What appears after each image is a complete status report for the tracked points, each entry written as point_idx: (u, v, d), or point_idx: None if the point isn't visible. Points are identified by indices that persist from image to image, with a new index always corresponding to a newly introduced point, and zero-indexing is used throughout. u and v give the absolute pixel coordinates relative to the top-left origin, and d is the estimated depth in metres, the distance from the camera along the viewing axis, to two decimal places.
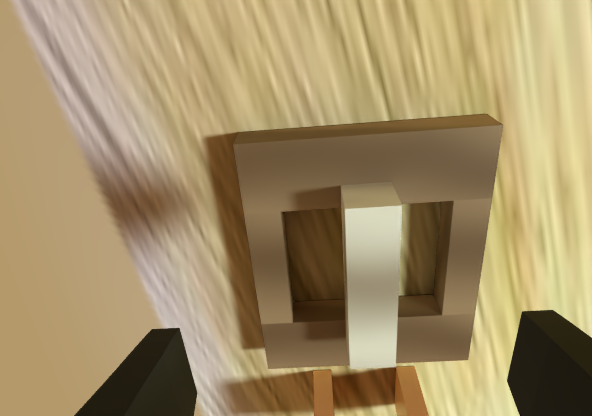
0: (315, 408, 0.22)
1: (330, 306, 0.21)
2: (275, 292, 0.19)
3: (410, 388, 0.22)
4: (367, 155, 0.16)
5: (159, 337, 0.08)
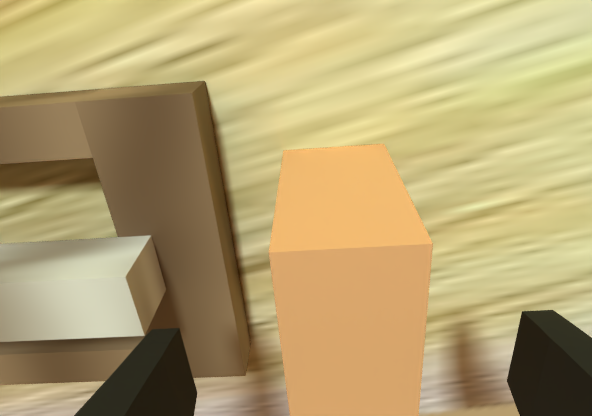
0: None
1: None
2: (106, 363, 0.15)
3: None
4: None
5: (159, 338, 0.08)
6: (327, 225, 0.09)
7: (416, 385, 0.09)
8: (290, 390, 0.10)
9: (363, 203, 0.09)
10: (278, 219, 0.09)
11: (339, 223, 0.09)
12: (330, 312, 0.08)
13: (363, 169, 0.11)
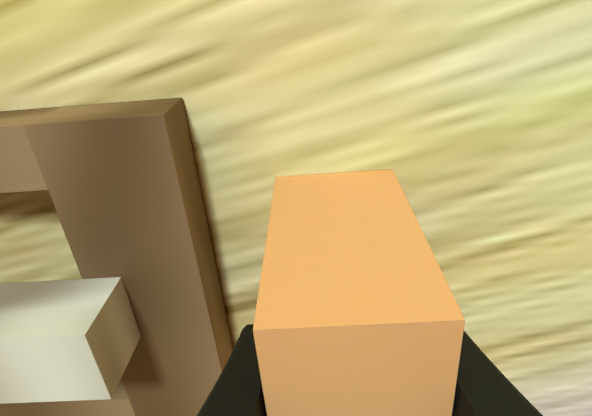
0: None
1: None
2: (76, 414, 0.13)
3: None
4: None
5: None
6: (327, 286, 0.07)
7: None
8: None
9: (372, 254, 0.08)
10: (266, 277, 0.07)
11: (343, 284, 0.07)
12: (331, 398, 0.07)
13: (370, 204, 0.09)
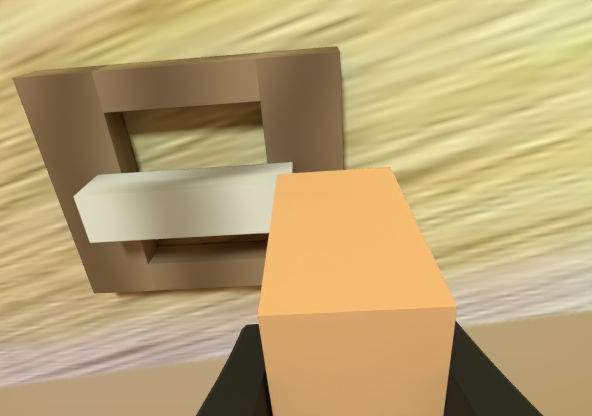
0: None
1: None
2: (239, 270, 0.19)
3: None
4: None
5: (258, 333, 0.08)
6: (327, 276, 0.07)
7: None
8: None
9: (370, 246, 0.08)
10: (270, 267, 0.08)
11: (342, 274, 0.07)
12: (332, 382, 0.07)
13: (369, 200, 0.10)
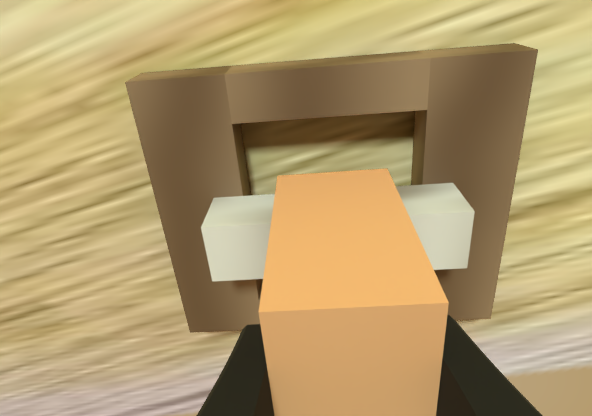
0: None
1: None
2: None
3: None
4: (184, 223, 0.15)
5: (259, 333, 0.08)
6: (325, 275, 0.07)
7: None
8: None
9: (366, 246, 0.08)
10: (270, 266, 0.08)
11: (340, 273, 0.08)
12: (330, 376, 0.07)
13: (366, 201, 0.10)
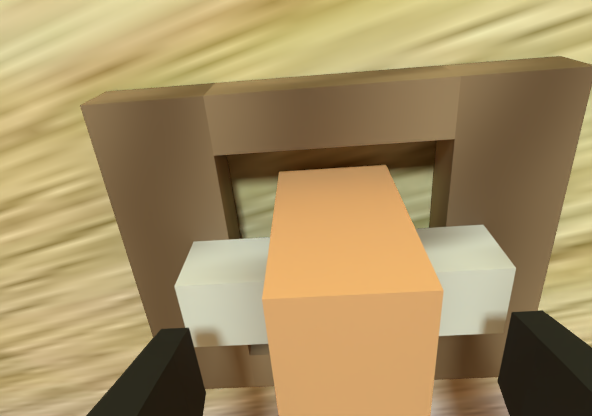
0: None
1: None
2: None
3: None
4: (159, 271, 0.12)
5: (168, 337, 0.08)
6: (325, 264, 0.08)
7: None
8: None
9: (365, 237, 0.09)
10: (272, 257, 0.08)
11: (339, 262, 0.08)
12: (329, 361, 0.08)
13: (365, 195, 0.10)
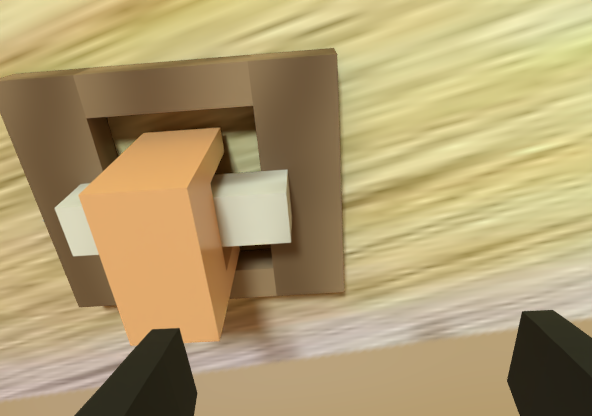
0: None
1: None
2: None
3: None
4: None
5: (158, 338, 0.08)
6: (129, 179, 0.12)
7: (207, 296, 0.13)
8: (118, 302, 0.13)
9: (166, 166, 0.13)
10: (100, 176, 0.13)
11: (138, 177, 0.12)
12: (131, 239, 0.12)
13: (188, 144, 0.15)
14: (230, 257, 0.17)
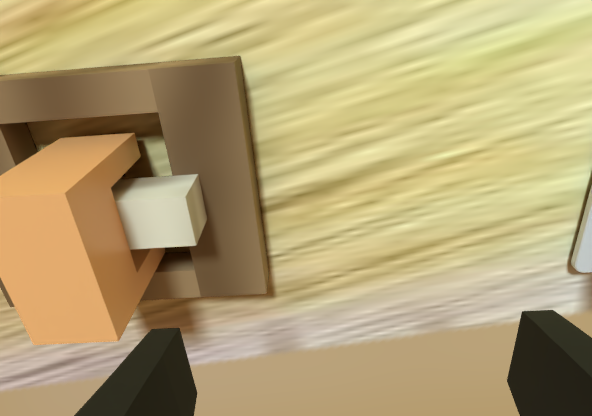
0: None
1: None
2: (156, 283, 0.19)
3: None
4: None
5: (159, 337, 0.08)
6: (18, 184, 0.13)
7: (99, 298, 0.14)
8: (16, 303, 0.14)
9: (60, 171, 0.13)
10: None
11: (27, 183, 0.13)
12: (19, 242, 0.13)
13: (93, 150, 0.15)
14: (145, 259, 0.17)
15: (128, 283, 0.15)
